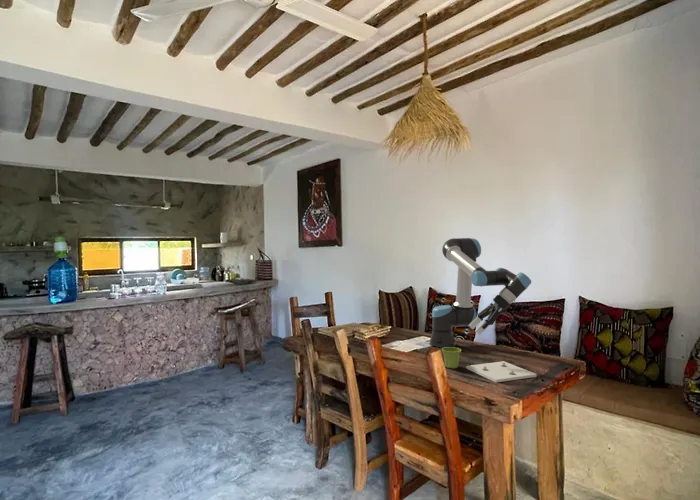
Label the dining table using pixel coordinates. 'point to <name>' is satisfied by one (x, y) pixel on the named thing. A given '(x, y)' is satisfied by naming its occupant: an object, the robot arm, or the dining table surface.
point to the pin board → (501, 371)
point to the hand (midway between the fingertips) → (473, 330)
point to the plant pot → (451, 356)
